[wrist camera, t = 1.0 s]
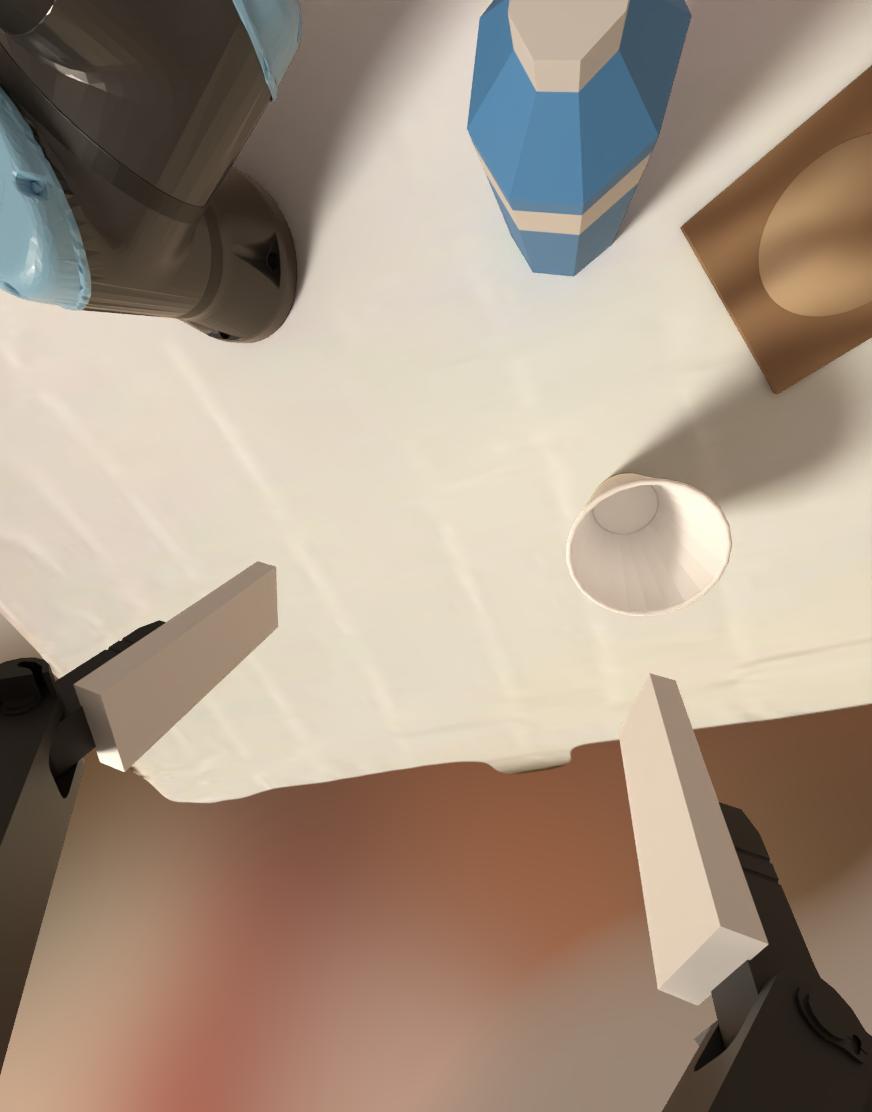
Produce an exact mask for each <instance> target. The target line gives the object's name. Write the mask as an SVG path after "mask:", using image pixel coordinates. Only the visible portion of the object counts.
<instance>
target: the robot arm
mask: <svg viewBox="0 0 872 1112" xmlns="http://www.w3.org/2000/svg"><path fill="white" fill-rule="evenodd" d="M301 35H302V18H301V10H300V6H299V2H298V0H0V289H2V290H4V291H6V292H8V293H10V294H12V295H14V296H16V297H19V298H22V299H25V300H29V301H34V302H40V303H46V304H52V305H58V306H61V307H63V308H65V309H70V310H86V311H98V312H109V313H121V314H133V315H145V316H157V317H170V318H177V319H179V320H181V321H183V322H185V323H187V324H188V325H190V326H192V327H194V328H196V329H198V330H200V331H201V332H203V333H205V334H207V335H209V336H211V337H213V338H216V339H219V340H222V341H226V342H236V343H253V342H257V341H261V340H263V339H265V338H267V337H269V336H270V335H272V334H273V333H274V332H275V331H276V330H277V329H278V328H279V327H280V326H281V325H282V323H283V322H284V320H285V319H286V317H287V315H288V313H289V311H290V308H291V306H292V303H293V299H294V295H295V290H296V282H297V263H296V254H295V249H294V244H293V240H292V237H291V233H290V230H289V228H288V225H287V223H286V221H285V218H284V216H283V214H282V213H281V211H280V209H279V207H278V206H277V204H276V203H275V201H274V200H273V199H272V197H271V196H270V195H269V194H268V193H267V191H266V190H265V189H264V188H263V187H262V186H261V185H259V184H258V183H257V182H256V181H254V180H253V179H251V178H250V177H248V176H246V175H245V174H243V173H241V172H239V171H238V170H236V169H234V168H232V167H231V166H232V165H233V163H234V161H235V160H236V158H237V156H238V154H239V153H240V151H241V149H242V148H243V146H244V144H245V142H246V141H247V139H248V137H249V136H250V134H251V132H252V130H253V129H254V127H255V125H256V124H257V122H258V120H259V118H260V117H261V115H262V113H263V112H264V110H265V108H266V106H267V105H268V103H269V101H271V102H272V103H274V102H275V101H276V99H277V96H278V89H277V88H278V86H279V84H280V82H281V80H282V78H283V76H284V74H285V73H286V71H287V69H288V67H289V65H290V63H291V61H292V59H293V57H294V55H295V53H296V51H297V49H298V47H299V44H300V40H301ZM277 627H278V612H277V583H276V567H275V566H272V565H268V564H265V563H261V562H258V561H257V562H256V563H254V564H253V565H251V566H250V567H248V568H247V569H245V570H244V571H242V572H241V573H239V574H238V575H236V576H235V577H233V578H232V579H230V580H229V581H227V582H226V583H224V584H223V585H221V586H220V587H219V588H217V589H216V590H214V591H213V592H211V593H210V594H208V595H207V596H205V597H204V598H202V599H201V600H199V601H198V602H196V603H195V604H193V605H192V606H190V607H189V608H187V609H186V610H184V611H183V612H181V613H180V614H178V615H177V616H175V617H174V618H172V619H171V620H169V621H168V622H163V621H160V620H159V621H156V622H154V623H151V624H148V625H146V626H143V627H140V628H138V629H137V630H135V631H134V632H132V633H130V634H129V635H127V636H126V637H124V638H123V639H122V641H118V642H116V643H115V644H113V645H112V646H110V647H109V649H108V650H104V651H102V652H101V653H99V654H98V655H96V656H94V657H93V658H91V659H90V660H88V661H87V662H85V663H83V664H82V665H80V666H79V667H77V668H76V669H74V670H72V671H71V672H69V673H68V674H66V675H65V676H63V677H62V678H60V679H58V680H57V681H55V679H54V676H53V674H52V671H51V668H50V666H49V664H48V663H47V662H46V661H45V660H43V659H38V658H19V659H16V660H11V661H6V662H4V663H1V664H0V1074H1V1070H2V1066H3V1062H4V1059H5V1055H6V1052H7V1048H8V1044H9V1041H10V1037H11V1033H12V1030H13V1026H14V1022H15V1019H16V1015H17V1011H18V1008H19V1004H20V1000H21V997H22V993H23V990H24V986H25V982H26V978H27V975H28V971H29V968H30V964H31V960H32V957H33V953H34V949H35V946H36V942H37V938H38V935H39V931H40V927H41V924H42V920H43V917H44V913H45V909H46V905H47V902H48V898H49V895H50V891H51V887H52V883H53V880H54V876H55V873H56V869H57V865H58V861H59V858H60V855H61V851H62V847H63V843H64V840H65V836H66V833H67V829H68V825H69V822H70V818H71V814H72V811H73V807H74V803H75V800H76V796H77V793H78V789H79V785H80V782H81V778H82V774H83V770H84V767H85V765H84V756H85V755H86V754H87V753H89V752H90V751H91V750H92V749H93V748H94V747H95V748H96V751H97V754H98V757H99V760H100V762H101V763H104V764H106V765H108V766H111V767H113V768H116V769H118V770H121V771H123V772H125V771H126V770H127V769H129V768H130V767H131V766H132V765H133V764H134V763H135V762H136V761H137V760H138V759H139V758H140V757H141V756H142V755H143V754H144V753H145V752H146V751H148V750H149V749H150V748H151V747H152V746H153V745H154V744H155V743H156V742H157V741H158V740H159V739H160V738H161V737H162V736H163V735H164V734H165V733H167V732H168V731H169V730H170V729H171V728H172V727H173V726H174V725H175V724H176V723H177V722H178V721H179V720H180V719H181V718H182V717H183V716H184V715H186V714H187V713H188V712H189V711H190V710H191V709H192V708H193V707H194V706H195V705H196V704H197V703H198V702H199V701H200V700H201V699H202V698H203V697H205V696H206V695H207V694H208V693H209V692H210V691H211V690H212V689H213V688H214V687H215V686H216V685H217V684H218V683H219V682H220V681H221V680H222V679H224V678H225V677H226V676H227V675H228V674H229V673H230V672H231V671H232V670H233V669H234V668H235V667H236V666H237V665H238V664H239V663H240V662H241V661H243V660H244V659H245V658H246V657H247V656H248V655H249V654H250V653H251V652H252V651H253V650H254V649H255V648H256V647H257V646H258V645H259V644H260V643H262V642H263V641H264V640H265V639H266V638H267V637H268V636H269V635H270V634H271V633H272V632H273V631H274V630H275V629H276V628H277ZM619 738H620V743H621V751H622V757H623V764H624V771H625V777H626V784H627V790H628V796H629V803H630V810H631V816H632V822H633V829H634V836H635V842H636V849H637V855H638V862H639V869H640V875H641V881H642V888H643V895H644V901H645V908H646V914H647V921H648V927H649V934H650V940H651V947H652V953H653V959H654V966H655V973H656V980H657V986H658V990H661V991H663V992H665V993H668V994H670V995H673V996H675V997H678V998H680V999H683V1000H685V1001H688V1002H690V1003H693V1004H695V1005H697V1006H698V1005H699V1004H700V1003H702V1002H703V1000H705V999H706V998H707V997H708V996H710V995H711V994H712V998H713V1002H714V1006H715V1011H716V1015H717V1019H718V1020H717V1021H716V1022H715V1023H714V1024H712V1025H711V1026H710V1027H709V1028H707V1029H706V1030H705V1031H703V1032H702V1033H701V1034H700V1035H699V1036H697V1037H696V1038H695V1039H694V1040H695V1041H696V1042H697V1043H698V1045H699V1048H698V1050H697V1051H696V1053H695V1055H694V1057H693V1058H692V1060H691V1062H690V1064H689V1065H688V1067H687V1069H686V1071H685V1073H684V1074H683V1076H682V1078H681V1080H680V1081H679V1083H678V1085H677V1086H676V1088H675V1090H674V1091H673V1093H672V1095H671V1097H670V1098H669V1100H668V1102H667V1104H666V1106H665V1107H664V1109H663V1111H662V1112H872V1036H871V1035H869V1034H868V1033H867V1032H866V1031H865V1029H864V1028H863V1026H862V1025H861V1023H860V1021H859V1020H858V1018H857V1017H856V1015H855V1014H854V1012H853V1010H852V1009H851V1007H850V1006H849V1005H848V1004H847V1003H846V1002H845V1001H844V999H843V998H842V997H841V996H840V995H839V994H838V993H837V992H836V990H835V989H834V988H832V987H831V986H830V985H828V984H827V983H826V982H825V981H824V980H823V979H821V978H820V976H819V974H818V972H817V970H816V968H815V966H814V963H813V961H812V959H811V956H810V954H809V951H808V949H807V947H806V944H805V942H804V939H803V937H802V935H801V932H800V930H799V927H798V925H797V922H796V920H795V918H794V915H793V913H792V910H791V908H790V906H789V903H788V901H787V898H786V896H785V894H784V891H783V889H782V887H781V885H779V884H778V877H777V874H776V872H775V870H774V867H773V865H772V864H771V863H770V861H769V860H770V858H769V855H768V853H767V851H766V848H765V846H764V843H763V841H762V838H761V836H760V834H759V832H758V831H757V830H756V828H755V827H754V826H753V824H752V823H751V822H750V820H749V819H748V818H747V816H746V815H745V814H744V812H743V811H742V810H741V809H738V808H735V807H732V806H729V805H726V804H723V803H720V802H718V800H717V797H716V794H715V791H714V788H713V785H712V783H711V780H710V777H709V774H708V772H707V769H706V766H705V763H704V760H703V757H702V755H701V751H700V749H699V746H698V743H697V740H696V737H695V735H694V732H693V729H692V726H691V723H690V720H689V718H688V715H687V712H686V709H685V706H684V703H683V701H682V698H681V695H680V692H679V689H678V686H677V684H676V681H675V680H671V679H668V678H664V677H661V676H657V675H654V674H649V676H648V677H647V679H646V681H645V683H644V685H643V687H642V689H641V691H640V693H639V695H638V697H637V699H636V701H635V703H634V705H633V707H632V709H631V711H630V713H629V714H628V716H627V718H626V720H625V722H624V724H623V726H622V728H621V730H620V732H619Z"/></svg>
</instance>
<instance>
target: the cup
mask: <svg viewBox="0 0 872 1112" xmlns="http://www.w3.org/2000/svg"><path fill="white" fill-rule="evenodd" d="M731 547H732V540H731V533H730V526H729V523H728V521H727V519H726V517H725V515H724V513H723V512H722V510H721V508H720V506H719V505H717V504H716V503H715V502H714V501H713V500H712V499H711V498H710V497H709V496H708V495H707V494H706V493H705V492H703V491H701V490H699V489H697V488H695V487H693V486H691V485H689V484H687V483H683V482H679V481H674V480H669V479H664V478H658V479H657V478H652V477H648V476H643V475H638V474H633V473H624V474H619V475H615V476H612V477H610V478H609V479H607V480H605V481H604V482H603V483H601V484H600V485H599V486H598V487H597V489H596V490H595V492H594V493H593V495H592V496H591V498H590V500H589V501H588V503H587V505H586V506H585V508H584V509H583V510H582V512H581V513H580V515H579V516H578V518H577V519H576V521H575V522H574V524H573V525H572V528H571V531H570V534H569V537H568V540H567V552H566V560H567V563H568V567H569V570H570V574H571V576H572V578H573V579H574V581H575V583H576V584H577V586H578V587H579V589H580V590H581V591H582V592H583V593H584V594H585V595H586V596H587V597H589V598H590V599H591V600H592V601H593V602H595V603H597V604H599V605H601V606H602V607H604V608H606V609H608V610H611V611H614V612H618V613H622V614H626V615H636V616H652V615H658V614H665V613H670V612H672V611H675V610H678V609H680V608H683V607H686V606H688V605H690V604H691V603H693V602H694V601H696V600H697V599H699V598H701V597H702V596H704V595H705V594H706V593H707V592H708V591H709V590H710V589H711V588H712V587H713V586H714V585H715V584H716V583H717V582H718V581H719V579H720V577H721V575H722V574H723V572H724V570H725V568H726V566H727V564H728V562H729V557H730V552H731Z"/></svg>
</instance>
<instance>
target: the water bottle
mask: <svg viewBox="0 0 872 1112" xmlns="http://www.w3.org/2000/svg"><path fill="white" fill-rule="evenodd" d="M690 19H691V14H690V11H689V9H688V7H687V5H686V3H685V1H684V0H493V2H492V3H491V4H490V6H489V7H488V8H487V10H486V11H485V12H484V13H483V15H482V16H481V17H480V21H479V30H478V39H477V48H476V56H475V65H474V74H473V82H472V91H471V100H470V108H469V117H468V126H467V129H468V132H469V134H470V137H471V139H472V141H473V144H474V146H475V149H476V151H477V154H478V156H479V158H480V161H481V163H482V166H483V168H484V171H485V173H486V175H487V178H488V180H489V183H490V185H491V188H492V190H493V192H494V195H495V197H496V200H497V202H498V205H499V207H500V209H501V212H502V214H503V217H504V219H505V222H506V224H507V226H508V229H509V231H510V234H511V236H512V238H513V239H514V241H515V243H516V244H517V246H518V248H519V249H520V251H521V253H522V254H523V256H524V258H525V259H526V261H527V263H528V264H529V266H530V268H531V269H532V271H533V272H535V273H545V274H555V275H565V276H575V275H576V274H577V273H578V272H579V271H581V270H582V269H583V268H584V267H585V266H587V265H588V264H589V263H590V262H591V261H593V260H594V259H595V258H596V257H597V256H598V255H600V254H601V253H602V252H603V251H604V250H606V249H607V248H608V247H609V246H610V245H612V243H613V241H614V239H615V236H616V234H617V232H618V229H619V227H620V225H621V222H622V220H623V218H624V215H625V213H626V211H627V208H628V206H629V204H630V201H631V199H632V197H633V194H634V192H635V190H636V187H637V185H638V183H639V180H640V178H641V176H642V173H643V171H644V169H645V167H646V164H647V162H648V160H649V157H650V155H651V153H652V150H653V148H654V146H655V143H656V141H657V139H658V136H659V133H660V129H661V125H662V122H663V118H664V114H665V111H666V107H667V103H668V100H669V96H670V92H671V89H672V85H673V81H674V78H675V74H676V70H677V67H678V63H679V59H680V55H681V52H682V48H683V44H684V41H685V37H686V33H687V30H688V26H689V22H690Z"/></svg>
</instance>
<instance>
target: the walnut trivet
mask: <svg viewBox="0 0 872 1112" xmlns="http://www.w3.org/2000/svg"><path fill="white" fill-rule="evenodd" d="M681 230H682V232H683V233H684V235H685V237H686V239H687V240H688V242H689V244H690V246H691V247H692V249H693V251H694V253H695V255H696V256H697V258H698V260H699V262H700V263H701V265H702V267H703V269H704V270H705V272H706V274H707V276H708V277H709V279H710V281H711V283H712V284H713V286H714V288H715V290H716V291H717V293H718V295H719V297H720V298H721V300H722V302H723V304H724V305H725V307H726V309H727V311H728V312H729V314H730V316H731V318H732V320H733V321H734V323H735V325H736V327H737V328H738V330H739V332H740V334H741V335H742V337H743V339H744V341H745V342H746V344H747V346H748V348H749V349H750V351H751V353H752V355H753V356H754V358H755V360H756V362H757V363H758V365H759V367H760V369H761V370H762V372H763V374H764V376H765V378H766V379H767V381H768V383H769V385H770V386H771V388H772V390H773V392H774V393H776V394H778V393H780V392H781V391H783V390H785V389H786V388H788V387H790V386H791V385H793V384H795V383H796V382H798V381H800V380H801V379H803V378H805V377H806V376H808V375H810V374H811V373H813V372H815V371H816V370H818V369H820V368H821V367H823V366H825V365H826V364H828V363H830V362H831V361H833V360H835V359H836V358H838V357H840V356H841V355H843V354H845V353H846V352H848V351H850V350H851V349H853V348H855V347H856V346H858V345H860V344H861V343H863V342H865V341H866V340H868V339H870V338H871V337H872V66H871V67H870V68H868V69H867V70H866V71H865V72H864V73H863V74H861V75H860V76H859V77H858V78H857V79H855V80H854V81H853V82H852V83H851V84H849V85H848V86H847V87H846V88H845V89H844V90H842V91H841V92H840V93H839V94H838V95H836V96H835V97H834V98H833V99H832V100H831V101H829V102H828V103H827V104H826V105H825V106H823V107H822V108H821V109H820V110H819V111H818V112H816V113H815V114H814V115H813V116H812V117H810V118H809V119H808V120H807V121H806V122H805V123H803V124H802V125H801V126H800V127H799V128H797V129H796V130H795V131H794V132H793V133H792V134H790V135H789V136H788V137H787V138H786V139H784V140H783V141H782V142H781V143H780V144H779V145H777V146H776V147H775V148H774V149H773V150H771V151H770V152H769V153H768V154H767V155H765V156H764V157H763V158H762V159H761V160H760V161H758V162H757V163H756V164H755V165H754V166H752V167H751V168H750V169H749V170H748V171H747V172H745V173H744V174H743V175H742V176H741V177H739V178H738V179H737V180H736V181H735V182H734V183H732V184H731V185H730V186H729V187H728V188H726V189H725V190H724V191H723V192H722V193H721V194H719V195H718V196H717V197H716V198H715V199H713V200H712V201H711V202H710V203H709V204H708V205H706V206H705V207H704V208H703V209H702V210H700V211H699V212H698V213H697V214H696V215H694V216H693V217H692V218H691V219H690V220H689V221H687V222H686V223H685V224H684V225H683V226H682V227H681Z"/></svg>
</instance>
